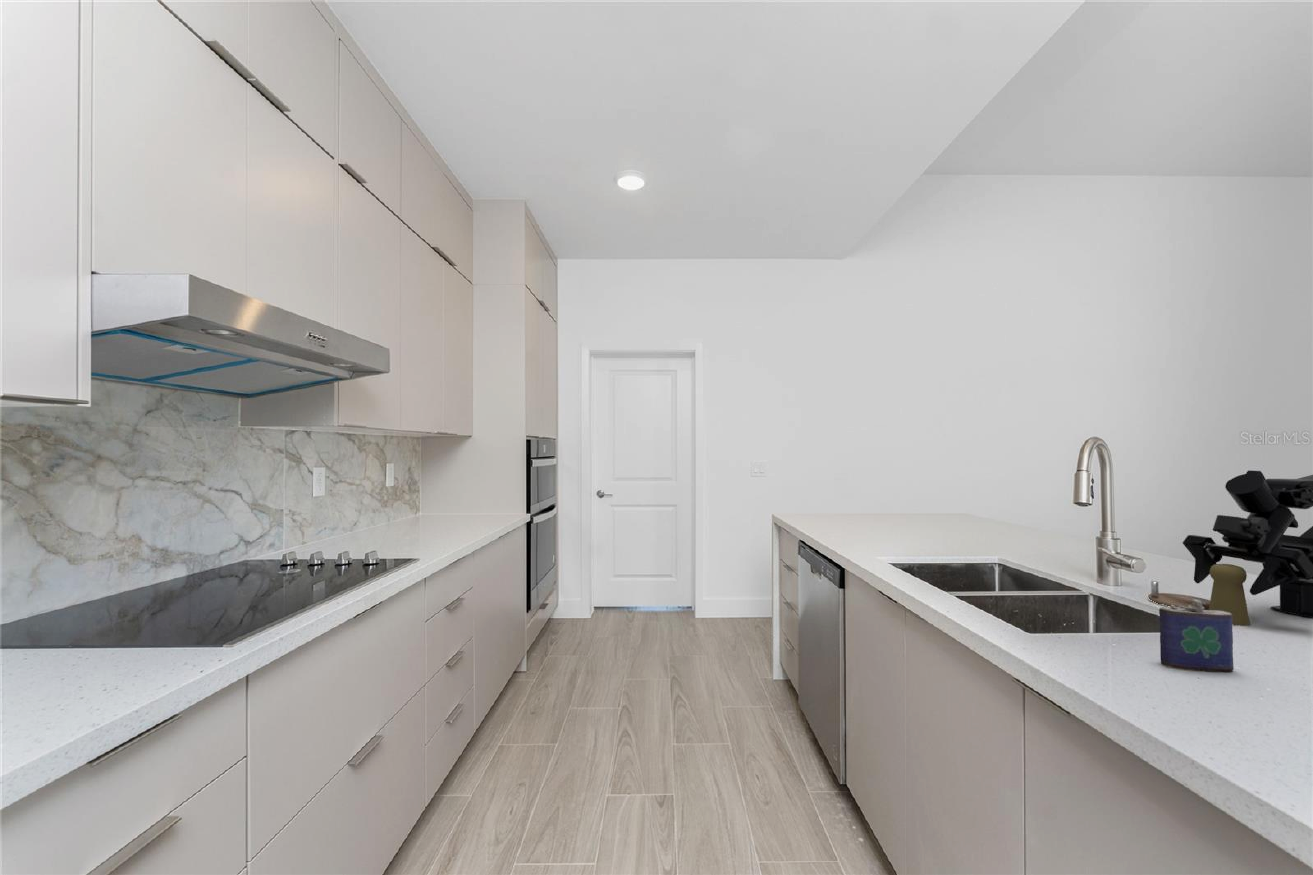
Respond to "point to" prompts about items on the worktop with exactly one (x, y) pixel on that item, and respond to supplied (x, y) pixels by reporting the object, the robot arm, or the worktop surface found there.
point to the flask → (1196, 638)
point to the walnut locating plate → (1174, 598)
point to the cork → (1229, 592)
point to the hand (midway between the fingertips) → (1222, 587)
